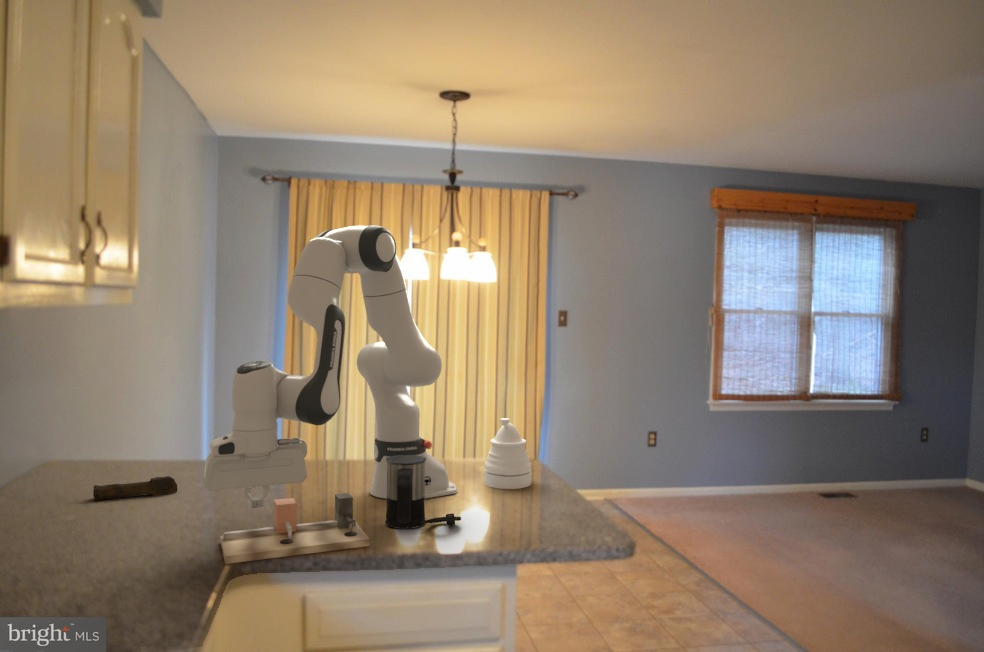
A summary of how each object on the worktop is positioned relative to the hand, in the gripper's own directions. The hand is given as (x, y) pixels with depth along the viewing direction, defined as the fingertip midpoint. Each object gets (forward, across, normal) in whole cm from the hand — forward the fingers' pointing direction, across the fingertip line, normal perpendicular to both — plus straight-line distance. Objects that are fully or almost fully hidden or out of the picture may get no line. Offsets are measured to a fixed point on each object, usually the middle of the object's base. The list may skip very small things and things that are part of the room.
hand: (256, 507), depth 156 cm
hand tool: (+8, +24, -47) cm, 54 cm away
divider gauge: (+7, -7, +4) cm, 11 cm away
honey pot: (+9, -69, -26) cm, 74 cm away
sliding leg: (+5, -6, +3) cm, 8 cm away
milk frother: (+8, -36, +1) cm, 36 cm away
